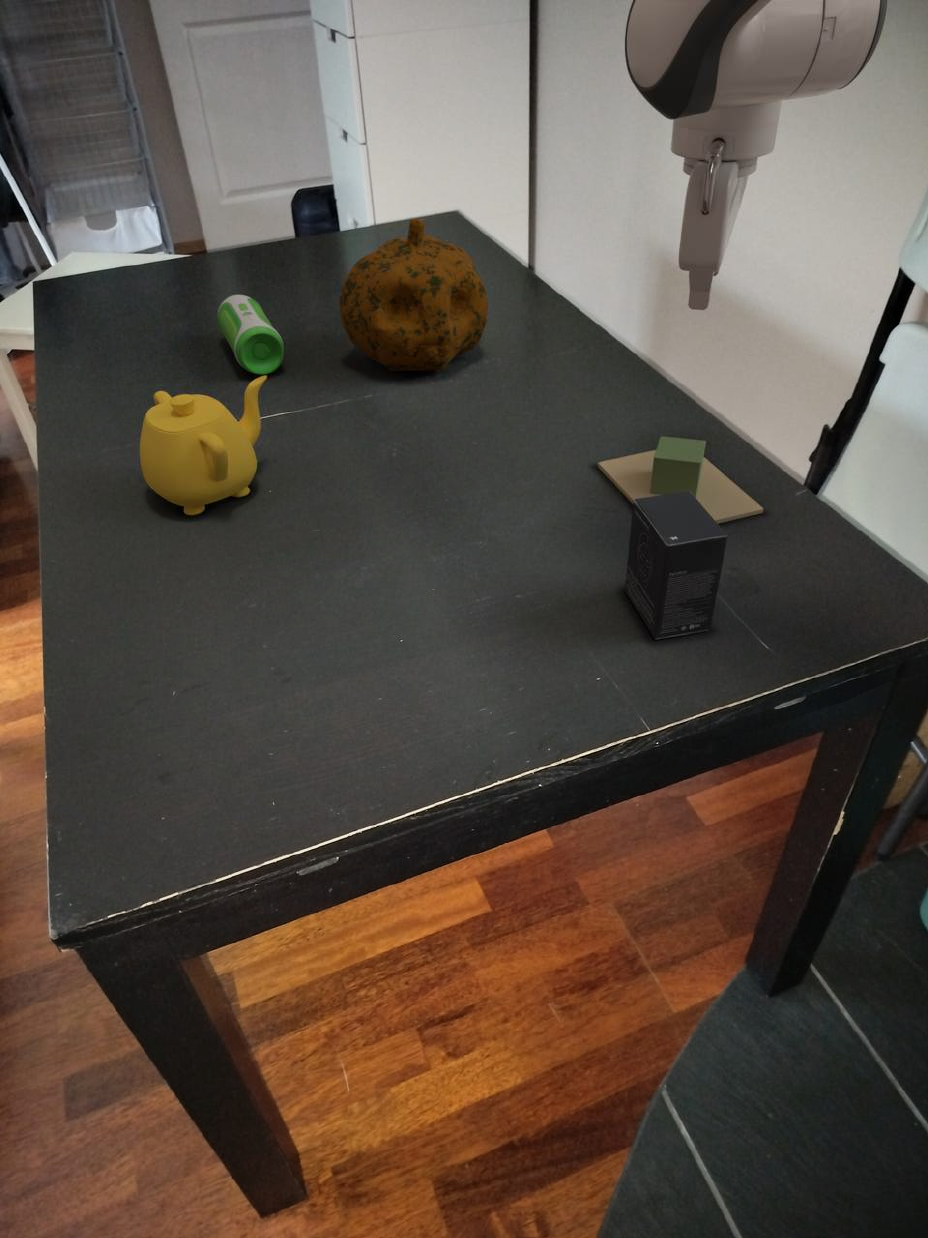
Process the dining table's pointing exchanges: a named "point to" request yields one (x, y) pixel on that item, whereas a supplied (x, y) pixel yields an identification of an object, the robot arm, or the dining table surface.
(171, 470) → the teapot
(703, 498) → the mat
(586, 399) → the dining table surface
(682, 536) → the box
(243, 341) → the speaker
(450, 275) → the decorative pumpkin
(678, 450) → the green block
